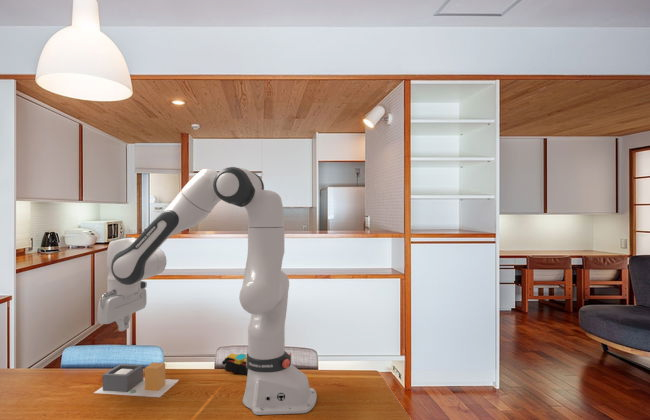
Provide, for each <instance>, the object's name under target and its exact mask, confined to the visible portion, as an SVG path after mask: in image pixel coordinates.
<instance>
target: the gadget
mask: <svg viewBox="0 0 650 420" xmlns="http://www.w3.org/2000/svg"><path fill="white" fill-rule="evenodd" d="M246 358H247V353H243V352H242V353H239V354H236V353H232V352H231V353H230V354H229V355H228V356H226V357H225V358H224V360H222V361H221V364H222V365H223V366H224V365H225V367H224V370H225V371H229V372H231V373H233V372H236V374H241V375H245V374H247V373H248V372H247V368H246Z"/></svg>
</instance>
